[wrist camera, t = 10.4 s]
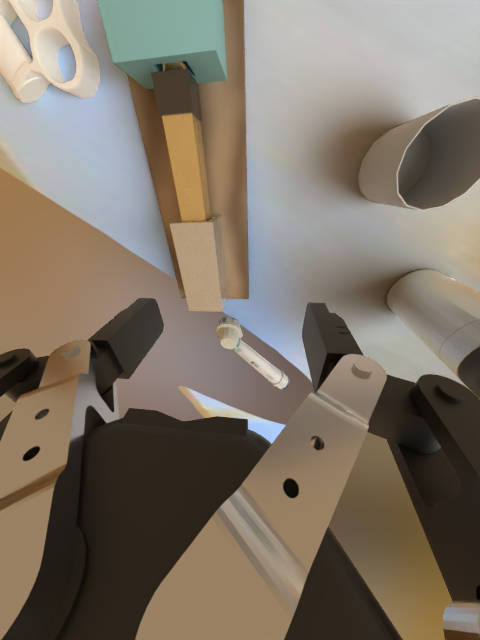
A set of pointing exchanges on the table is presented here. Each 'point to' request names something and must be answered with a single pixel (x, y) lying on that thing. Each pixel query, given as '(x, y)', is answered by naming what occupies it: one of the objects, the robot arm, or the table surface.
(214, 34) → the teal rectangular block
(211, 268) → the sleeve
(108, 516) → the robot arm
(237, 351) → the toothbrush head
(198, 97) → the plug
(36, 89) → the knuckle duster
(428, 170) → the cup
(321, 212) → the table surface
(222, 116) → the base board
